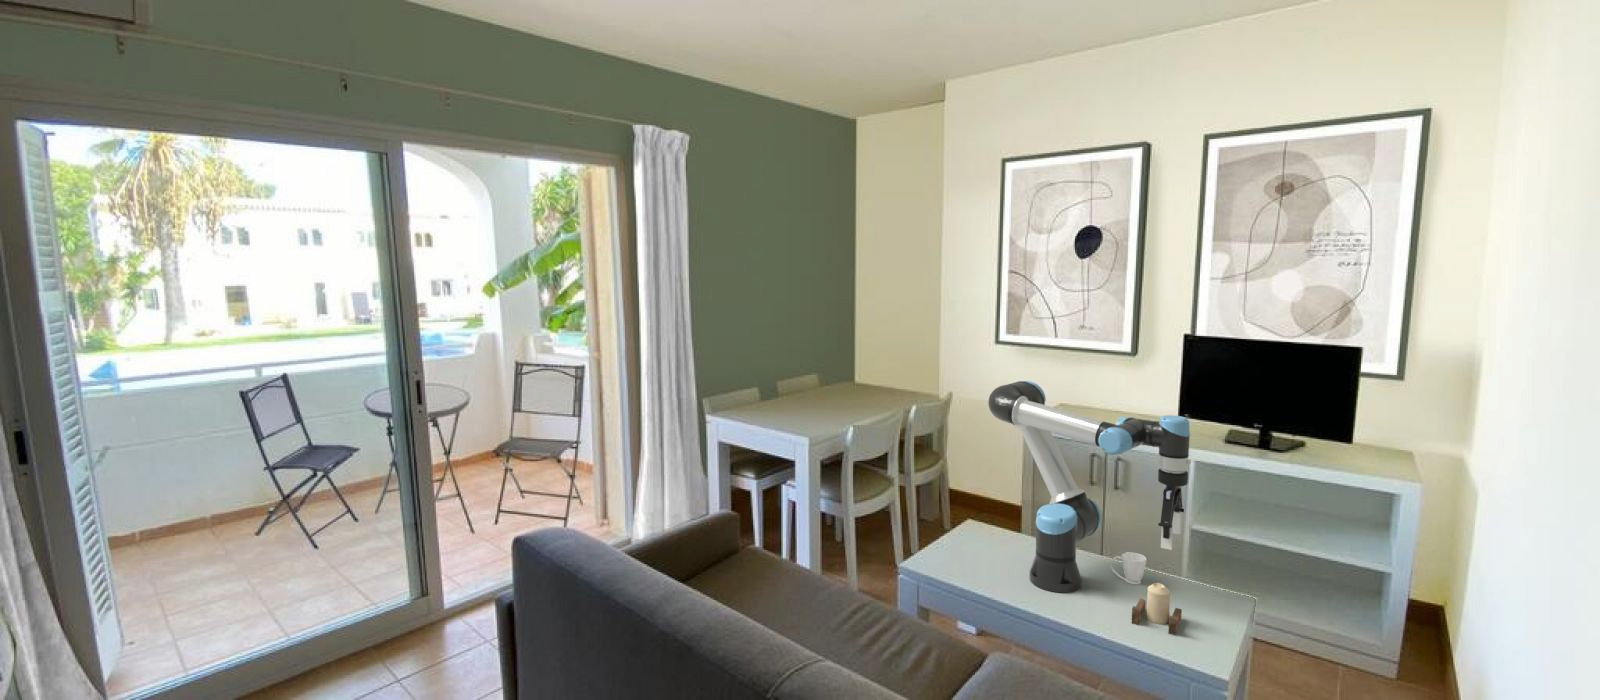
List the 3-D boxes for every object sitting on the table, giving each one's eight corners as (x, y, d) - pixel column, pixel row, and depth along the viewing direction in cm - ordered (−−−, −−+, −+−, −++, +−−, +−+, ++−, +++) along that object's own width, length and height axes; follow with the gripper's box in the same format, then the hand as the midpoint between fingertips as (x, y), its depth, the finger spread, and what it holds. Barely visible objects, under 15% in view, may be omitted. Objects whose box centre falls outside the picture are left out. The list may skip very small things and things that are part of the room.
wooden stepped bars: (1131, 623, 183) (1132, 608, 183) (1139, 608, 191) (1140, 593, 191) (1174, 635, 177) (1175, 619, 177) (1181, 619, 185) (1181, 604, 184)
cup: (1144, 588, 203) (1145, 563, 202) (1108, 580, 208) (1109, 556, 208) (1147, 579, 209) (1148, 554, 208) (1112, 572, 214) (1113, 548, 213)
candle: (1171, 625, 182) (1173, 590, 181) (1149, 623, 183) (1151, 588, 182) (1165, 615, 187) (1166, 581, 186) (1143, 613, 189) (1145, 579, 187)
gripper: (1180, 483, 180) (1177, 558, 182) (1194, 461, 199) (1192, 529, 202) (1149, 478, 185) (1147, 552, 187) (1166, 457, 204) (1164, 524, 206)
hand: (1170, 540), depth 194 cm, fingers open, 13 cm apart
